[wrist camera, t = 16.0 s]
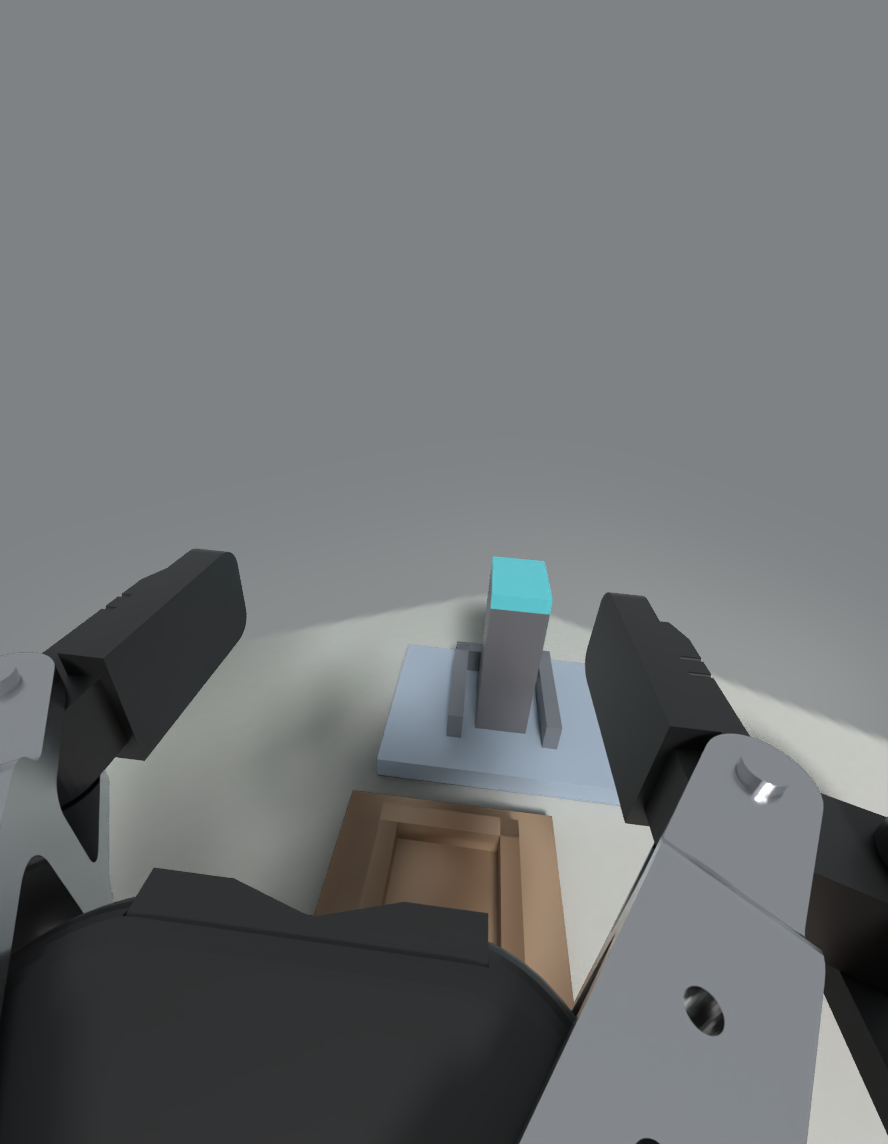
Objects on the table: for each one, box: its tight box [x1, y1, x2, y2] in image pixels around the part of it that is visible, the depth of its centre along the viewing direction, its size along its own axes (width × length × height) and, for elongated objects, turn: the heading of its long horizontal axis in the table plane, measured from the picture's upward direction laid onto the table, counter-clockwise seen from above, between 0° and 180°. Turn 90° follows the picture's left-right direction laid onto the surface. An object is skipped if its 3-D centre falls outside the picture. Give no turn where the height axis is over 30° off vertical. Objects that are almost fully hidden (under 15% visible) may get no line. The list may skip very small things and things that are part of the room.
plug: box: [475, 556, 553, 734], centre depth 31 cm, size 4×5×11 cm
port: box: [377, 642, 620, 806], centre depth 33 cm, size 16×12×4 cm
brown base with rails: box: [314, 790, 574, 1010], centre depth 21 cm, size 12×12×2 cm
